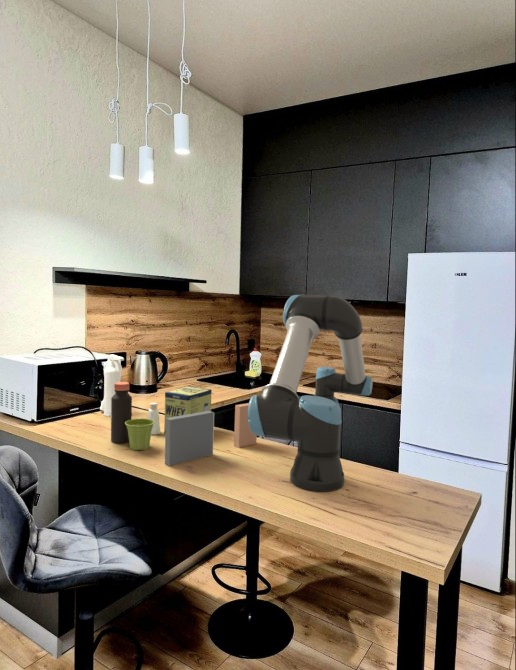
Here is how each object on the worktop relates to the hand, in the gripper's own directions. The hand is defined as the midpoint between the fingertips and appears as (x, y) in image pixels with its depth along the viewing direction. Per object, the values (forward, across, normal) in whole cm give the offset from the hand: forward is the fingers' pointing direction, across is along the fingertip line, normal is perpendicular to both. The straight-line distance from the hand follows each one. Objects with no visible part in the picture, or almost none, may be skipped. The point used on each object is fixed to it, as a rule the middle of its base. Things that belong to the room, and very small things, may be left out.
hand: (268, 417), depth 171 cm
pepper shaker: (+28, +31, -9) cm, 43 cm away
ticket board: (+34, 0, -8) cm, 35 cm away
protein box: (+17, +25, -9) cm, 32 cm away
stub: (+11, 0, -8) cm, 13 cm away
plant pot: (+40, +19, -9) cm, 45 cm away
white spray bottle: (+28, +65, -8) cm, 71 cm away
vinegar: (+42, +30, -9) cm, 52 cm away
